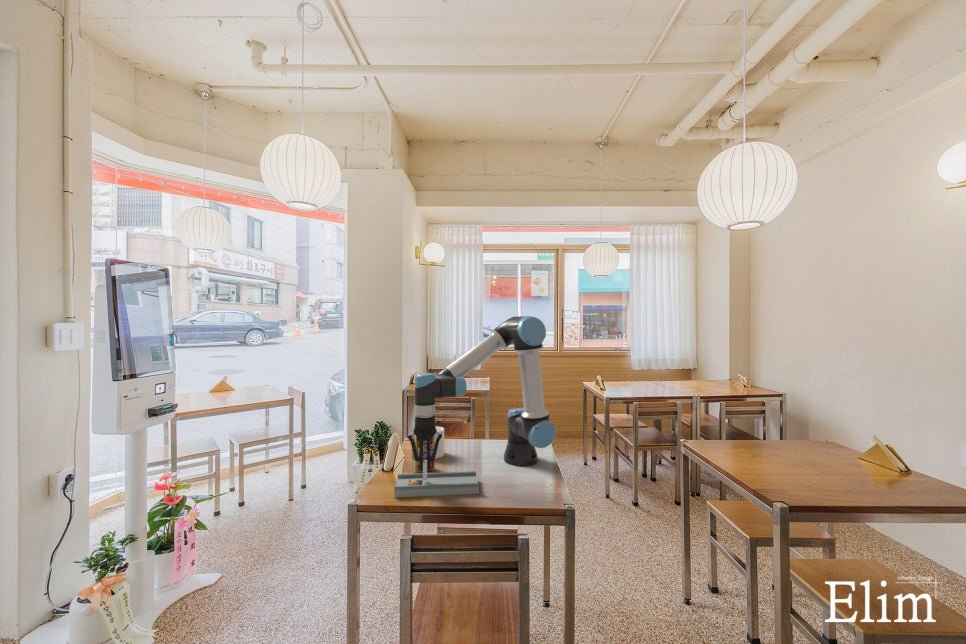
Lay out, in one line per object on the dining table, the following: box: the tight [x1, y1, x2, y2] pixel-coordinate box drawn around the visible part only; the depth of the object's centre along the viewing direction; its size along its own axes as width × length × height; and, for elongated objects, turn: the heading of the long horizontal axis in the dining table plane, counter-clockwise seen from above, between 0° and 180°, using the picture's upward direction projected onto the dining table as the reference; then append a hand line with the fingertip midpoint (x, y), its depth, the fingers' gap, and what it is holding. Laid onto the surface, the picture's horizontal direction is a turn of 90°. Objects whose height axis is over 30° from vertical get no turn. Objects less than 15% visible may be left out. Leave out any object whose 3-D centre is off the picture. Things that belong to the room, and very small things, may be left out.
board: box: [393, 470, 480, 499], centre depth 149 cm, size 30×12×4 cm, turn 96°
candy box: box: [411, 435, 436, 474], centre depth 168 cm, size 9×4×15 cm, turn 123°
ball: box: [409, 480, 419, 485], centre depth 148 cm, size 4×4×4 cm
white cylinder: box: [435, 425, 445, 460], centre depth 187 cm, size 12×12×12 cm
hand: (425, 478), depth 149 cm, fingers closed
